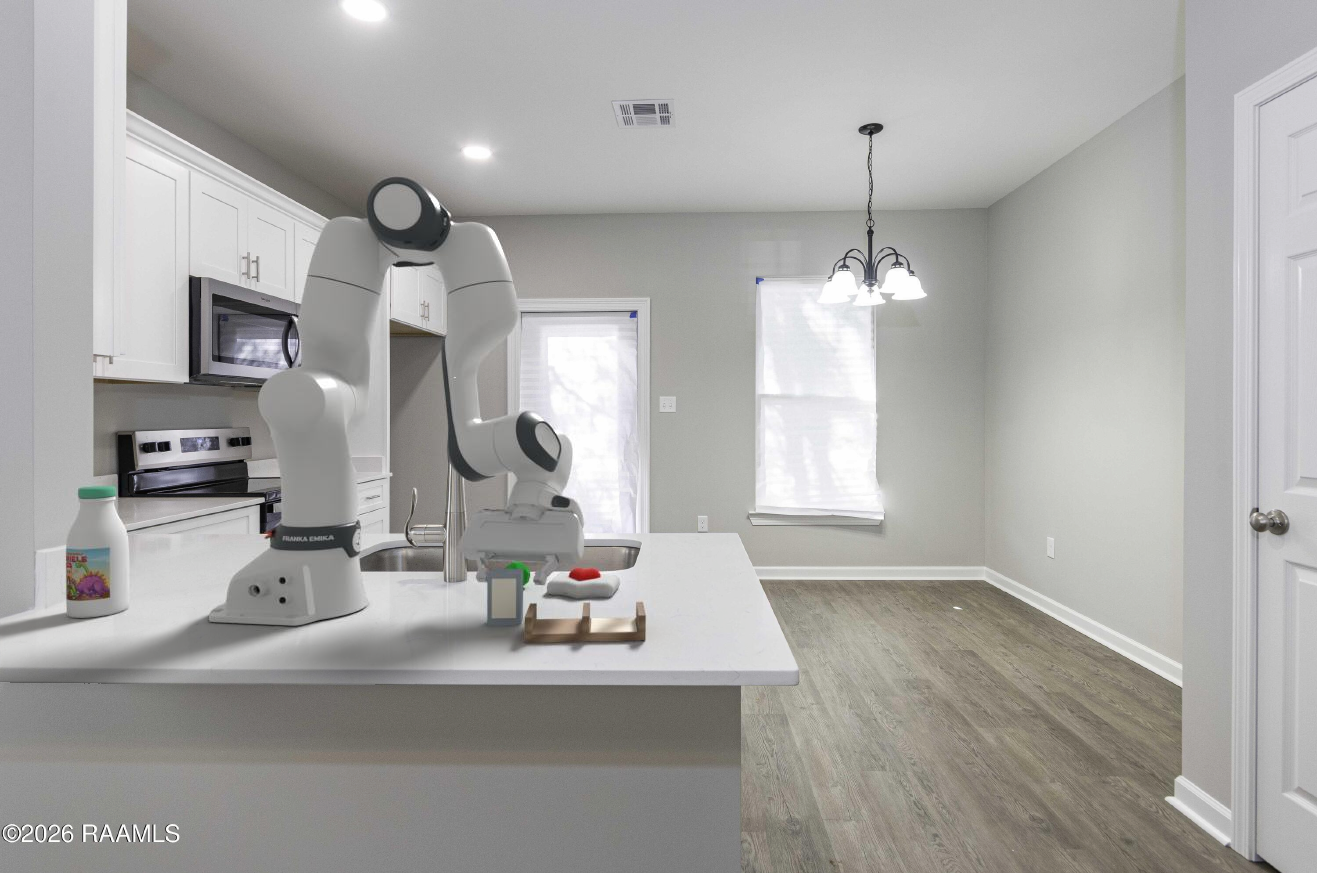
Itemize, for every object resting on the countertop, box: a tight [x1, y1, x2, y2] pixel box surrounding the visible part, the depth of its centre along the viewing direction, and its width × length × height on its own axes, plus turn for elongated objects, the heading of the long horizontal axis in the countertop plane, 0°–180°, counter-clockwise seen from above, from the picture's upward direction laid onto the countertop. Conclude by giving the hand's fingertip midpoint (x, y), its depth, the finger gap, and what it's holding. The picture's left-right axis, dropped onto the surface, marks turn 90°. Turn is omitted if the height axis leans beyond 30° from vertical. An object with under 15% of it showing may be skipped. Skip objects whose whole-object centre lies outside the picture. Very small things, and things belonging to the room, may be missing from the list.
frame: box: [486, 568, 524, 627], centre depth 102 cm, size 5×3×8 cm, turn 95°
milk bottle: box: [65, 485, 131, 619], centre depth 106 cm, size 8×8×20 cm
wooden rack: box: [524, 601, 647, 644], centre depth 98 cm, size 17×7×4 cm, turn 95°
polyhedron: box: [504, 561, 531, 587], centre depth 123 cm, size 5×5×5 cm
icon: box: [546, 567, 621, 599], centre depth 121 cm, size 12×4×10 cm
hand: (509, 582), depth 104 cm, fingers open, 8 cm apart
